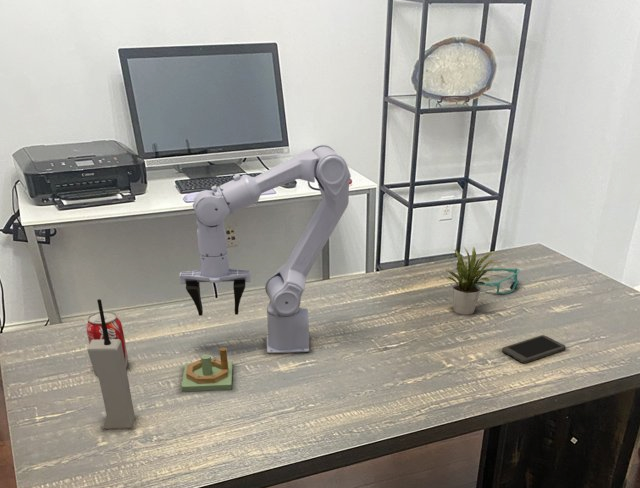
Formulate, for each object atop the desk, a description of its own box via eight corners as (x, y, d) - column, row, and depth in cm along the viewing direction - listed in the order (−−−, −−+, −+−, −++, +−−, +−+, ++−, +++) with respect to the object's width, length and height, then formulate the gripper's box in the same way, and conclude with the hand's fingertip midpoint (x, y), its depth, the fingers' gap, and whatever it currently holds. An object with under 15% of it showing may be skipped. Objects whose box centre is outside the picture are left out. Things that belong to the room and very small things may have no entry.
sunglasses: (507, 298, 181) (508, 280, 179) (456, 291, 189) (456, 274, 186) (526, 282, 191) (527, 265, 189) (477, 276, 199) (477, 259, 196)
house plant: (505, 308, 176) (515, 247, 167) (484, 327, 166) (493, 262, 157) (455, 296, 182) (462, 236, 173) (432, 313, 173) (438, 250, 164)
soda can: (136, 364, 147) (127, 312, 140) (116, 379, 141) (106, 326, 135) (108, 358, 149) (98, 307, 142) (88, 373, 143) (76, 321, 137)
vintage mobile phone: (108, 418, 129) (82, 295, 115) (135, 418, 129) (113, 294, 115) (104, 429, 126) (77, 303, 112) (131, 429, 126) (108, 303, 112)
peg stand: (232, 366, 147) (231, 344, 144) (231, 389, 139) (229, 367, 136) (185, 368, 146) (183, 346, 143) (181, 391, 138) (178, 369, 135)
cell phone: (500, 350, 156) (500, 347, 155) (543, 337, 162) (543, 334, 162) (523, 363, 150) (524, 360, 150) (566, 349, 157) (567, 346, 156)
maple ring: (229, 363, 146) (227, 339, 143) (228, 382, 139) (225, 358, 136) (188, 364, 145) (185, 341, 142) (185, 384, 138) (182, 360, 135)
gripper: (175, 259, 136) (183, 322, 143) (248, 258, 137) (252, 319, 145) (178, 248, 142) (185, 308, 149) (248, 246, 143) (252, 306, 151)
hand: (218, 313), depth 147 cm, fingers open, 7 cm apart
